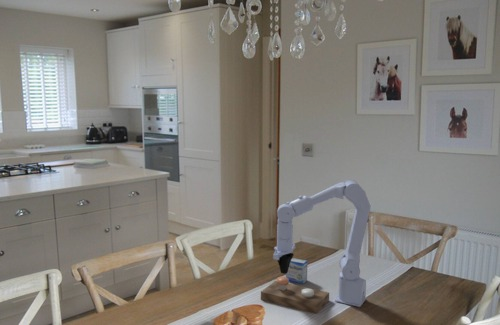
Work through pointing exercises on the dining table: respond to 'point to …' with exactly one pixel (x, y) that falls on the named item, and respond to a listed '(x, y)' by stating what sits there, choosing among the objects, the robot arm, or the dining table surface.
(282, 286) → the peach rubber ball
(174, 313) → the dining table surface
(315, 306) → the board
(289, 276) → the medicine box
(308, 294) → the white egg
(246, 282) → the dining table surface
